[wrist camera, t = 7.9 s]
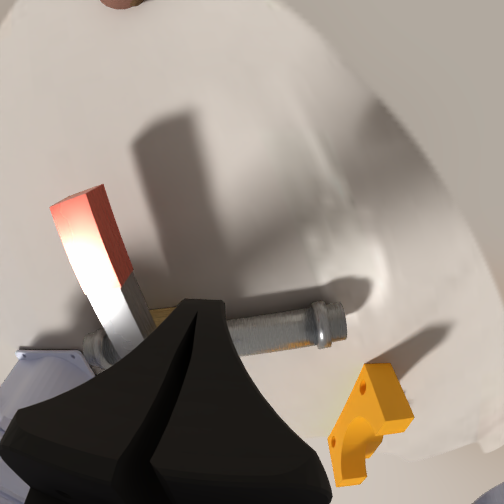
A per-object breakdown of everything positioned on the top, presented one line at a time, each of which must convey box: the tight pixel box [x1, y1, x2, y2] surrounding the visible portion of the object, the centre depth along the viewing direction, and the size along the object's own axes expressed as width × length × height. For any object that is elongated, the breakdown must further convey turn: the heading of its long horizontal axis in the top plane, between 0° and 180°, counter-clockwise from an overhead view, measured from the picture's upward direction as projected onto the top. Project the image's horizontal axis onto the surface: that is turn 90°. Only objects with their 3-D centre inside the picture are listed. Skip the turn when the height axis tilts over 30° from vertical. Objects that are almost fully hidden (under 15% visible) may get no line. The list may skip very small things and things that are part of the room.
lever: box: [50, 184, 157, 359], centre depth 17 cm, size 14×3×2 cm, turn 12°
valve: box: [83, 301, 347, 369], centre depth 21 cm, size 19×4×3 cm, turn 100°
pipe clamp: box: [327, 363, 415, 487], centre depth 24 cm, size 12×4×6 cm, turn 174°
